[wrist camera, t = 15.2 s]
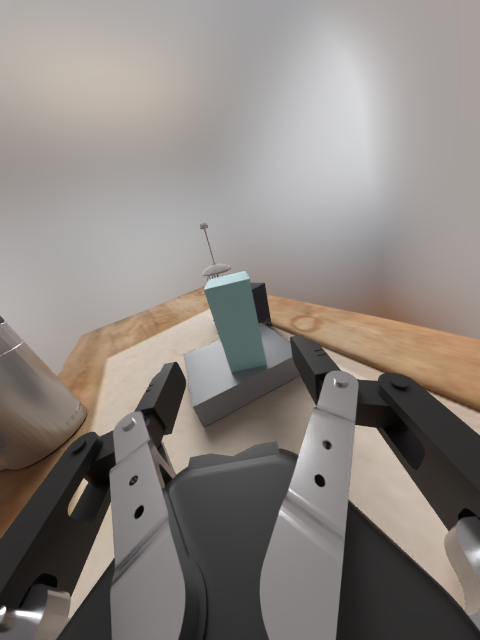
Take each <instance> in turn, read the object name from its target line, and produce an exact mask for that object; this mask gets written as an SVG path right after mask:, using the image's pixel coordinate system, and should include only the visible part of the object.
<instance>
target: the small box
mask: <svg viewBox="0 0 480 640" xmlns="http://www.w3.org/2000/svg"><path fill="white" fill-rule="evenodd" d="M250 284H251V289H252V294H253V299H254V304H255V309H256V314H257V319H258V324H259V323H261V322H262V323H263V324H264V325H266V326H267V327H268V326H270V325H271V319H270V313H269V306H268V300H267V294H266V288H265V283H250Z"/></svg>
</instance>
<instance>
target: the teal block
mask: <svg viewBox="0 0 480 640" xmlns="http://www.w3.org/2000/svg"><path fill="white" fill-rule="evenodd" d="M204 291H205V294H206V297H207V300H208V303H209V306H210V309H211V313H212V316H213V319H214V322H215V325H216V328H217V331H218V334H219V337H220V340H221V343H222V346H223V349H224V352H225V355H226V358H227V361H228V364H229V367H230V370H231V373H232V372H236V371H241V370H246V369H250V368H255V367H259V366H264V365H267V363H266V358H265V353H264V348H263V343H262V338H261V333H260V329H259V324H258V319H257V314H256V309H255V304H254V299H253V294H252V289H251V284H250V279H249V277H248V275H247V273H246V271H243V272H238V273H234V274H230V275H226V276H222V277H218V278H214V279H210V280H209V281H208V283H207V285H206V287H205V289H204Z"/></svg>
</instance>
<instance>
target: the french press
mask: <svg viewBox="0 0 480 640" xmlns="http://www.w3.org/2000/svg"><path fill="white" fill-rule="evenodd" d="M205 228H208V225H207V224H206V223H202V224H201V225H200V229H204V230H205ZM205 234H206V230H205ZM206 238H207V234H206ZM207 241H208V238H207ZM208 245H209V241H208ZM209 247H210V245H209ZM210 251H211V249H210ZM211 255H212V252H211ZM212 258H213V256H212ZM213 262H214V259H213ZM230 269H231V267H230V266H229V265H226V264H215V263H214V264H213V265H212V266H209V267H207V268H206V269H205V270H204V271H203V273H202V275H203V276H208V277H209V278H210V276H212V275H213V276H215V275H217V277H218V274H220V273H224V272H226V271H228V270H230ZM212 279H213V277H212ZM207 280H208V279H207ZM213 321H214V320H213Z"/></svg>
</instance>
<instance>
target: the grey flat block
mask: <svg viewBox="0 0 480 640" xmlns="http://www.w3.org/2000/svg"><path fill="white" fill-rule="evenodd" d="M259 329H260V333H261V338H262V343H263V348H264V353H265V358H266V363H267V365H264V366H259V367H255V368H250V369H246V370H241V371H236V372H232V373H231V370H230V367H229V364H228V361H227V358H226V355H225V352H224V349H223V346H222V343H221V340H218V341H216V342H213V343H211V344H208V345H206V346H204V347H201V348H199V349H196V350H194V351H192V352H189V353H187V354H184V360H185V366H186V371H187V377H188V382H189V387H190V393H191V398H192V404H193V408H194V410H195V412H196V413H197V415H198V417H199V419H200V421H201V423H202V425H203V427H206V426H208V425H210V424H212V423H213V422H215V421H217V420H219V419H221V418H223V417H224V416H226V415H228V414H230V413H232V412H234V411H235V410H237V409H239V408H241V407H243V406H244V405H246V404H248V403H250V402H252V401H254V400H255V399H257V398H259V397H261V396H263V395H265V394H266V393H268V392H270V391H272V390H274V389H276V388H277V387H279V386H281V385H283V384H285V383H287V382H288V381H290V380H292V379H294V378H296V377H298V376H299V375H300V373H299V371H298V370H297V368H296V366H295V364H294V361H293V357H292V350H291V343H290V342H289V341H288V340H286V339H285V338H283V337H282V336H280V335H279V334H277V333H276V332H275V331H273V330H272V329H270V328H269V327H267V326H266V325H264V324H263V323H262V322H261V323H259Z"/></svg>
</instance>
